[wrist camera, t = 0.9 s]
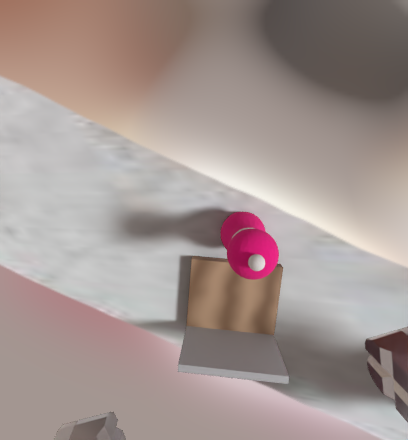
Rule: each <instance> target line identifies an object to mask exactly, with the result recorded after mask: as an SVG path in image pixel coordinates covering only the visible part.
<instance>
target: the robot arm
mask: <svg viewBox="0 0 408 440" xmlns="http://www.w3.org/2000/svg"><path fill="white" fill-rule="evenodd" d="M365 348H366V350H367V351H368V352H369V353H370V356H369V358H368V359H367V365H368V370H369V373H370V375H371V377H372V379H373V381H374V382H375V384H376V385H377V387H378V388H379V389H380V391H381V392H382V393H383V394H384V395H386V396H388V397H390V398H392V399H394V400H395V405H396V409H397V411H398V412H399V413H400V414H401V415H402V416H403V418H404V419H405V420H406V421H407V422H408V327H405V328H402V329H398V330H394V331H391V332H388V333H384V334H381V335H378V336H374V337H371V338H367V339H366V341H365ZM117 421H118V419H117V418H116V415H115V414H114V412H109V413H105V414H101V415H97V416H93V417H89V418H85V419H81V420H79V421H74V422H71V423H67V424H63V425H62V426H61V427H60V429H59V430H58V431H57V434H56V436H55V438H54V440H126V438H125V435H124V433H123V430H121V429H119V428H117V427H116V425H117Z"/></svg>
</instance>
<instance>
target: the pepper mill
mask: <svg viewBox="0 0 408 440" xmlns="http://www.w3.org/2000/svg"><path fill="white" fill-rule="evenodd" d="M221 240H222V243H223V245H224V247H225V248H226V249H227V258H228V262H229V264H230V266H231V268H232V269H233V271H234V272H235V273H236V274H238V275H239V276H241V277H243V278H246V279H250V280H256V279H261V278H264V277H266V276H268V275H269V274H270V273H271V272H272V271H273V270H274V269H275V267H276V265H277V262H278V257H279V251H278V247H277V244H276V242H275V241H274V239H273V238H272V237H271V236H270V235H269V234H268V233H266V232H265V228H264V225H263V223H262V221H261V220H260V219H259V218H258V217H257V216H255V215H254V214H252V213H249V212H236V213H233V214H231V215H230V216H229V217H228V218H227V219H226V220H225V221H224V223H223V225H222V227H221Z"/></svg>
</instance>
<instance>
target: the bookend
mask: <svg viewBox="0 0 408 440" xmlns="http://www.w3.org/2000/svg"><path fill="white" fill-rule="evenodd" d="M282 272H283V267H282V266H281V264H277V265H276V267H275V269H274V270H273V271H272V272H271V273H270V274H269V275H268V276H266V277H264V278H261V279H256V280H250V279H246V278H243V277H241V276H239V275H238V274H236V273H235V272H234V271H233V269H232V268H231V266H230V264H229V262H228V259H222V258H211V257H200V256H192V261H191V274H190V287H189V299H188V312H187V325H186V330H185V335H184V340H183V345H182V349H181V354H180V359H179V364H178V372H185V373H194V374H203V375H212V376H220V377H229V378H238V379H247V380H256V381H265V382H274V383H283V384H288V382H289V375H288V372H287V369H286V366H285V364H284V361H283V358H282V356H281V353H280V350H279V348H278V345H277V342H276V339H275V337H274V331H275V323H276V316H277V309H278V301H279V294H280V287H281V279H282Z"/></svg>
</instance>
